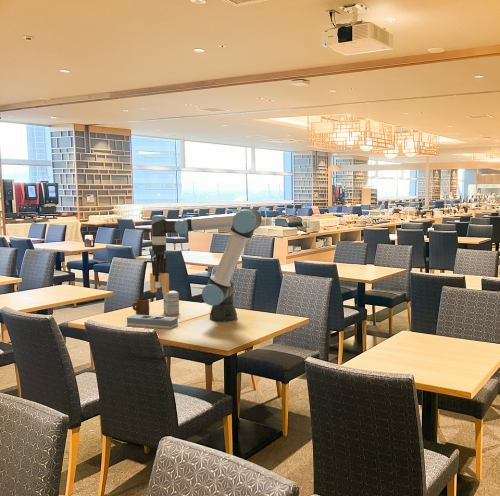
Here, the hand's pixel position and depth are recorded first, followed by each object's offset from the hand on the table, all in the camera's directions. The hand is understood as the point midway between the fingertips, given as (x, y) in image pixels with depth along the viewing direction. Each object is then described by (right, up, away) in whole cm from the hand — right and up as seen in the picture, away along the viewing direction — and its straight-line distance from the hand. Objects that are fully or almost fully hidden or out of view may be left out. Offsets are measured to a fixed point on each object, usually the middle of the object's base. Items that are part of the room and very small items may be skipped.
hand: (159, 286), depth 309 cm
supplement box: (+3, -17, +21) cm, 27 cm away
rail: (-3, -20, -7) cm, 21 cm away
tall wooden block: (0, -3, 0) cm, 3 cm away
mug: (-13, -18, +13) cm, 26 cm away
